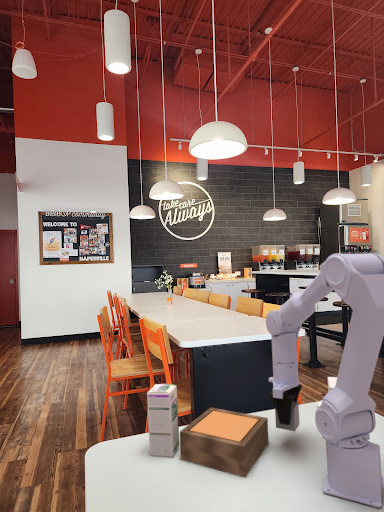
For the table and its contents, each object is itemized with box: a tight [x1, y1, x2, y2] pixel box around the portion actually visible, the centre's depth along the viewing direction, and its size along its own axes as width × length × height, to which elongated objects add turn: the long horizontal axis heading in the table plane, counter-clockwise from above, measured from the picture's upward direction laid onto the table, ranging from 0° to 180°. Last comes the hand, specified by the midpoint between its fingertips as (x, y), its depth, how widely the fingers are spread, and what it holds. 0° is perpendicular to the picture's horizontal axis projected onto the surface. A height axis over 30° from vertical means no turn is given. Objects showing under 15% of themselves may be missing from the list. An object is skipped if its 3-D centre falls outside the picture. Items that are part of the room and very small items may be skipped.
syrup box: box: [146, 383, 180, 458], centre depth 82 cm, size 6×6×14 cm
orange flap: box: [190, 411, 259, 443], centre depth 80 cm, size 12×12×1 cm
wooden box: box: [179, 407, 270, 478], centre depth 80 cm, size 15×15×6 cm
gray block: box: [274, 401, 301, 432], centre depth 82 cm, size 4×4×5 cm
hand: (287, 419), depth 82 cm, fingers closed on gray block, 4 cm apart
